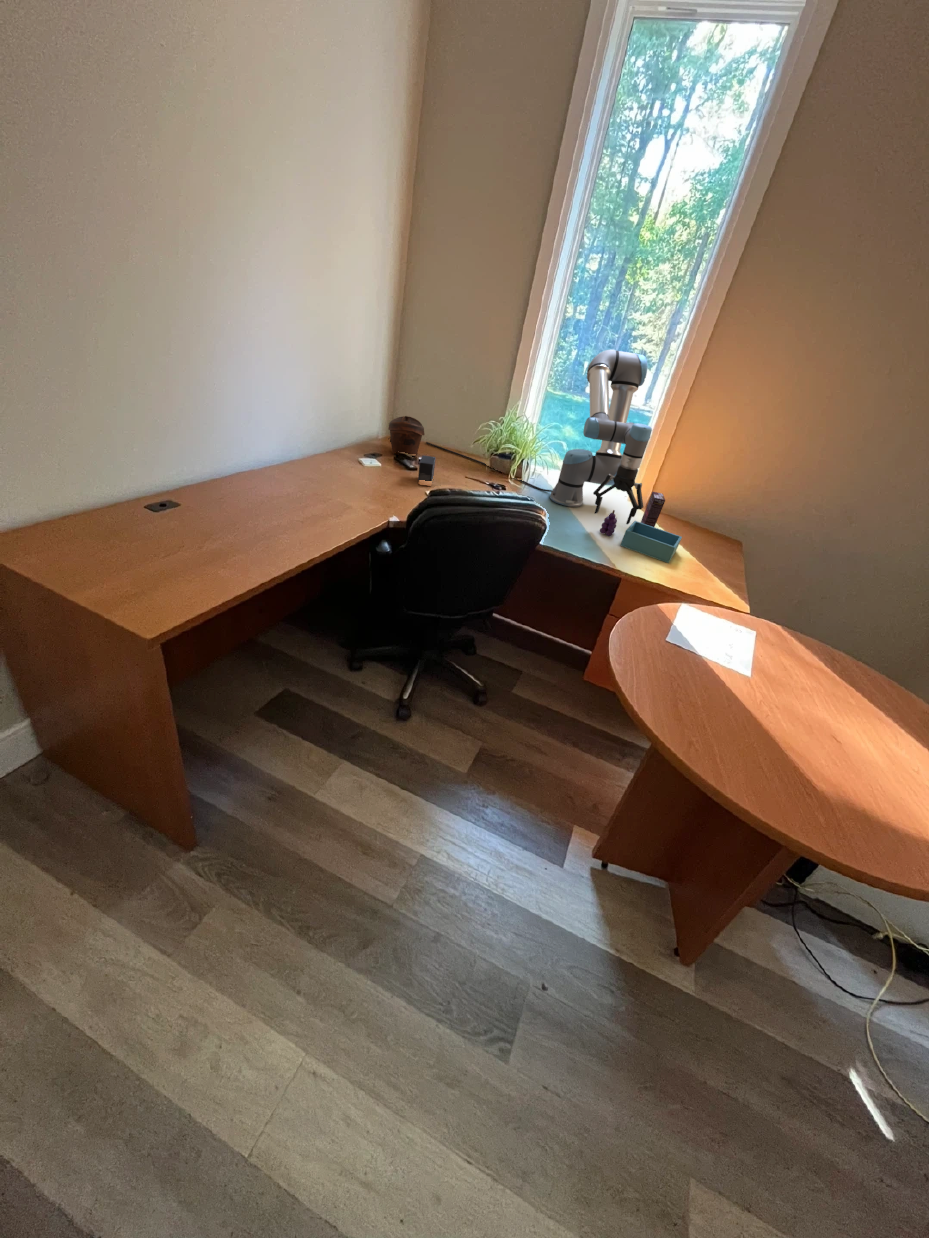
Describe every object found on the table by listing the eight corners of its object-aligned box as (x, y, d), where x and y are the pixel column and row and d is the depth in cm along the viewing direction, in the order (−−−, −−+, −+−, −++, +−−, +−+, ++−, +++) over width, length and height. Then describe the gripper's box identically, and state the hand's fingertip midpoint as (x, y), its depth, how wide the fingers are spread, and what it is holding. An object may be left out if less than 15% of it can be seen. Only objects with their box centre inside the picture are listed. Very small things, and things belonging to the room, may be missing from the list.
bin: (620, 545, 197) (625, 530, 193) (629, 535, 207) (634, 520, 203) (668, 563, 190) (675, 547, 186) (675, 551, 200) (682, 536, 196)
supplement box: (651, 535, 211) (665, 500, 202) (640, 532, 211) (654, 497, 202) (649, 527, 218) (663, 493, 209) (639, 525, 218) (651, 491, 209)
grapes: (598, 533, 204) (605, 509, 198) (602, 529, 208) (609, 506, 202) (610, 537, 202) (618, 514, 196) (614, 533, 206) (622, 510, 200)
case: (407, 446, 263) (410, 411, 253) (429, 458, 251) (433, 422, 241) (379, 449, 253) (380, 412, 242) (400, 461, 241) (403, 424, 231)
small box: (419, 477, 227) (421, 454, 221) (433, 479, 228) (436, 456, 222) (416, 484, 219) (419, 461, 213) (431, 487, 219) (433, 464, 213)
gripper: (595, 459, 190) (580, 510, 202) (658, 478, 181) (638, 530, 193) (601, 456, 196) (586, 506, 208) (663, 474, 187) (643, 525, 198)
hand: (611, 518), depth 200 cm, fingers open, 13 cm apart
